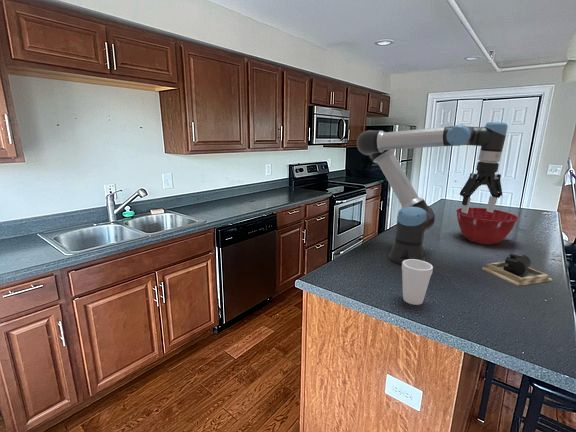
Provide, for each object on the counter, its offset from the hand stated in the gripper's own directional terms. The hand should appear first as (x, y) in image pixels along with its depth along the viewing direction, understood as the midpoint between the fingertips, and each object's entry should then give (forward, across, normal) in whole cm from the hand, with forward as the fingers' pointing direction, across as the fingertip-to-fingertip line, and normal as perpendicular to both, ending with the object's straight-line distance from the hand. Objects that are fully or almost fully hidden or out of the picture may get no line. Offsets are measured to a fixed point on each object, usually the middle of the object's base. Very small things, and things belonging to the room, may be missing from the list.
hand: (477, 212), depth 135 cm
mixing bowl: (+24, +34, +24) cm, 48 cm away
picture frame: (+23, +11, -15) cm, 29 cm away
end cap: (+22, +10, -15) cm, 29 cm away
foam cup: (+24, -44, -22) cm, 55 cm away
